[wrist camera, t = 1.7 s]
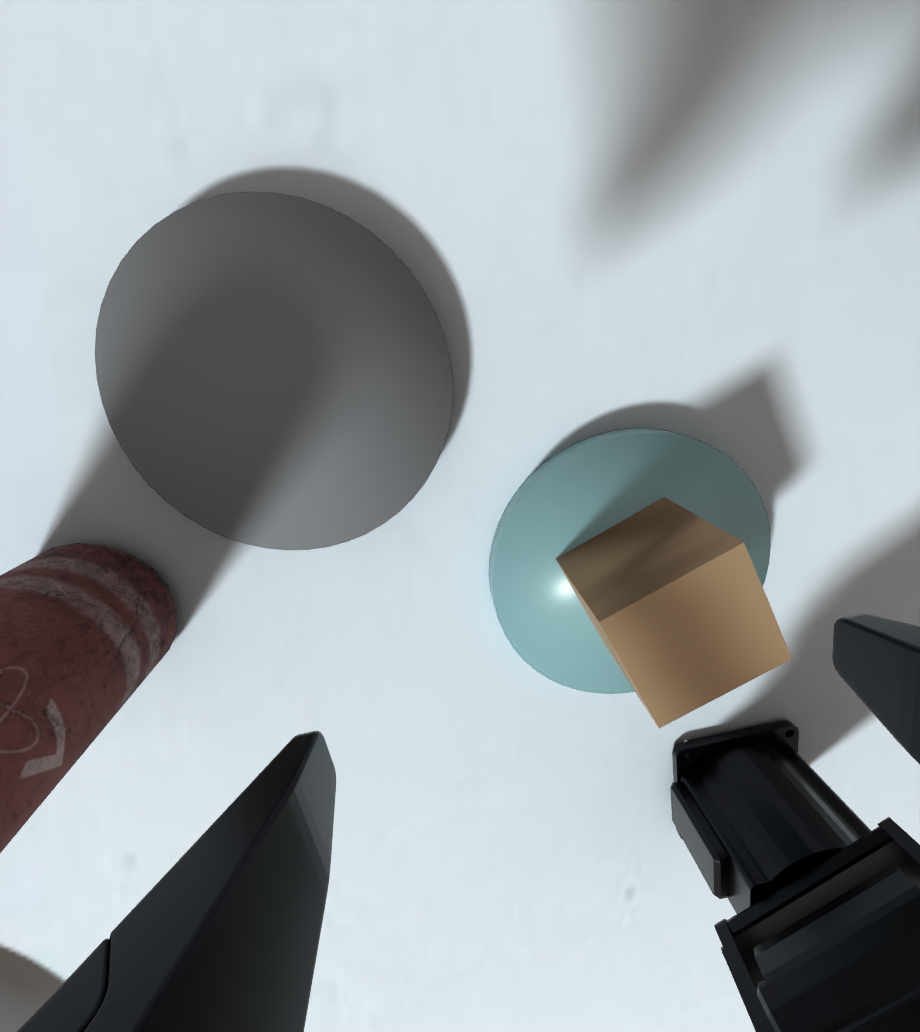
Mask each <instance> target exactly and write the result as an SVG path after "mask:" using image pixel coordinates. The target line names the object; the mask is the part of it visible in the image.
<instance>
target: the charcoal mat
mask: <svg viewBox="0 0 920 1032" xmlns="http://www.w3.org/2000/svg"><path fill="white" fill-rule="evenodd" d="M95 361H96V374H97V381H98V386H99V390H100V395H101V399H102V403H103V406H104V409H105V412H106V415H107V417H108V420H109V423H110V426H111V428H112V430H113V432H114V434H115V436H116V438H117V440H118V442H119V444H120V446H121V448H122V449H123V451H124V452H125V454H126V455H127V457H128V458H129V460H130V461H131V463H132V464H133V466H134V467H135V469H136V470H137V471H138V472H139V473H140V475H141V476H142V477H143V478H144V479H145V481H146V482H147V483H148V484H149V485H150V486H151V487H152V488H153V489H154V490H155V491H156V492H157V493H158V494H159V495H160V496H161V497H162V498H163V499H164V500H165V501H166V502H168V503H169V504H170V505H171V506H173V507H174V508H175V509H177V510H178V511H179V512H181V513H182V514H183V515H184V516H186V517H188V518H189V519H191V520H193V521H194V522H196V523H198V524H199V525H201V526H203V527H204V528H207V529H209V530H211V531H213V532H215V533H217V534H219V535H222V536H224V537H227V538H230V539H233V540H236V541H239V542H242V543H244V544H249V545H254V546H258V547H263V548H270V549H280V550H309V549H316V548H323V547H329V546H333V545H336V544H340V543H344V542H347V541H350V540H352V539H355V538H357V537H360V536H362V535H365V534H367V533H368V532H370V531H372V530H374V529H375V528H377V527H379V526H381V525H382V524H384V523H385V522H387V521H388V520H389V519H391V518H392V517H393V516H395V515H396V514H397V513H399V512H400V511H401V510H402V509H403V508H404V507H405V506H406V505H407V504H408V503H409V502H410V501H411V500H412V499H413V498H414V496H415V495H416V494H417V493H418V491H419V490H420V489H421V487H422V486H423V485H424V484H425V482H426V481H427V479H428V477H429V475H430V474H431V472H432V470H433V468H434V467H435V465H436V463H437V460H438V458H439V456H440V453H441V451H442V448H443V446H444V443H445V439H446V435H447V432H448V428H449V424H450V416H451V409H452V373H451V365H450V357H449V353H448V349H447V345H446V341H445V337H444V334H443V331H442V328H441V326H440V323H439V321H438V318H437V315H436V313H435V311H434V309H433V307H432V305H431V303H430V301H429V299H428V297H427V296H426V294H425V292H424V290H423V289H422V287H421V286H420V284H419V283H418V281H417V280H416V279H415V277H414V276H413V274H412V273H411V271H410V270H409V269H408V268H407V266H406V265H405V264H404V263H403V262H402V261H401V260H400V259H399V258H398V256H397V255H396V254H395V253H394V252H393V251H392V250H391V249H390V248H389V247H388V246H387V245H385V244H384V243H383V242H382V241H381V240H380V239H378V238H377V237H376V236H375V235H374V234H373V233H371V232H370V231H368V230H367V229H365V228H364V227H362V226H361V225H359V224H358V223H356V222H355V221H353V220H352V219H350V218H349V217H347V216H345V215H343V214H341V213H339V212H337V211H334V210H332V209H330V208H328V207H326V206H324V205H321V204H318V203H315V202H312V201H309V200H306V199H303V198H299V197H294V196H289V195H283V194H278V193H266V192H241V193H232V194H223V195H219V196H215V197H212V198H208V199H204V200H200V201H197V202H195V203H193V204H191V205H188V206H186V207H184V208H182V209H179V210H177V211H175V212H173V213H172V214H170V215H169V216H167V217H166V218H164V219H163V220H161V221H160V222H158V223H157V224H155V225H154V226H153V227H152V228H151V229H150V230H148V231H147V232H146V233H145V234H144V235H143V236H142V237H141V238H140V239H139V240H138V241H137V242H136V243H135V244H134V245H133V247H132V248H131V249H130V250H129V252H128V253H127V254H126V255H125V257H124V258H123V259H122V261H121V262H120V264H119V266H118V268H117V270H116V271H115V273H114V275H113V277H112V279H111V280H110V282H109V285H108V288H107V290H106V293H105V296H104V299H103V301H102V304H101V308H100V313H99V318H98V323H97V328H96V342H95Z"/></svg>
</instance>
